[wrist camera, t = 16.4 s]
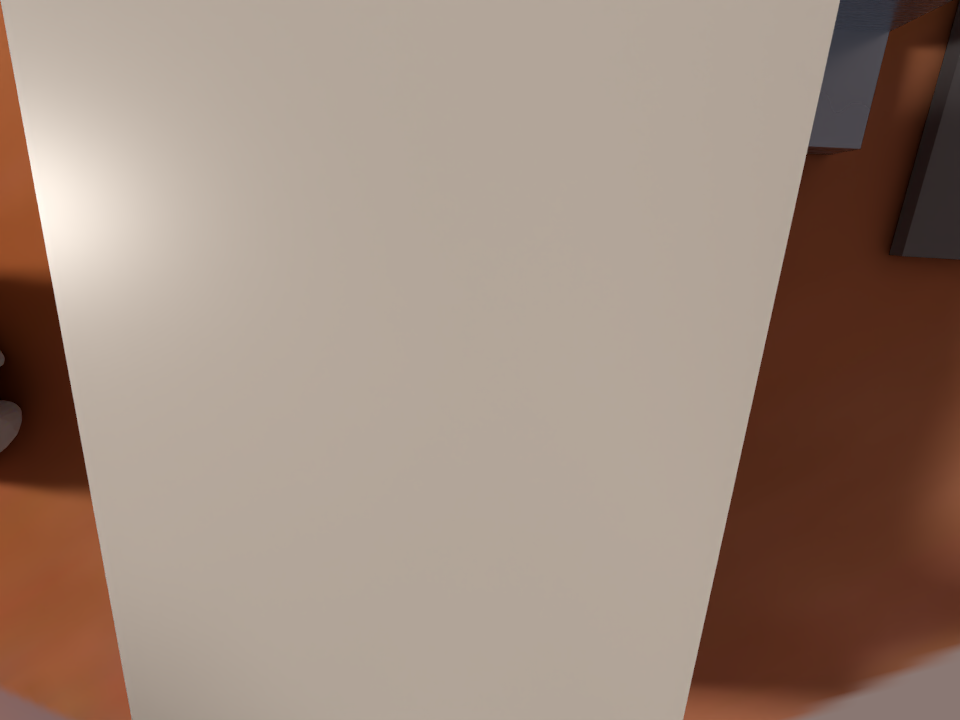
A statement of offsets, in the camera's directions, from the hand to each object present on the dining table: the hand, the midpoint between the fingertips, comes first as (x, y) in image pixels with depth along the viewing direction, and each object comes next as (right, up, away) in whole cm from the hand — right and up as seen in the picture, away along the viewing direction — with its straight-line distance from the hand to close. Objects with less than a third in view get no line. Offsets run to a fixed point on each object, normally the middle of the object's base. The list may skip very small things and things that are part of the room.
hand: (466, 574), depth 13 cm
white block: (0, +2, 0) cm, 2 cm away
